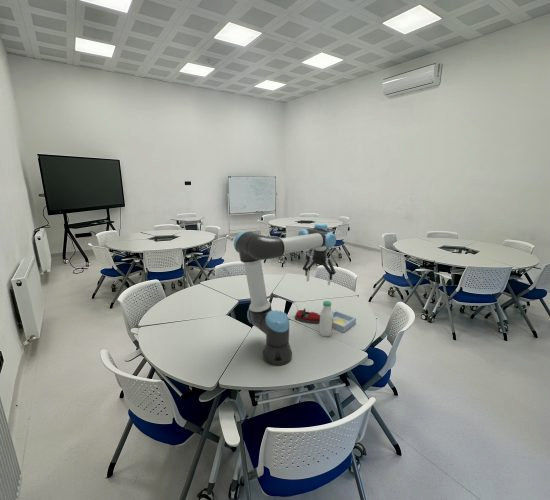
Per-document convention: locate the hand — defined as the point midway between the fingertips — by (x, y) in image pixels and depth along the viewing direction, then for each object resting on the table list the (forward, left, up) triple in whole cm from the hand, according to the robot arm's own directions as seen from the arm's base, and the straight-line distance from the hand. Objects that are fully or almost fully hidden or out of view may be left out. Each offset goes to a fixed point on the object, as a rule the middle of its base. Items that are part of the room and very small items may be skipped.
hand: (318, 282), depth 175 cm
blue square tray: (+7, -12, -27) cm, 30 cm away
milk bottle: (-8, -12, -27) cm, 30 cm away
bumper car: (-2, +7, -27) cm, 28 cm away
